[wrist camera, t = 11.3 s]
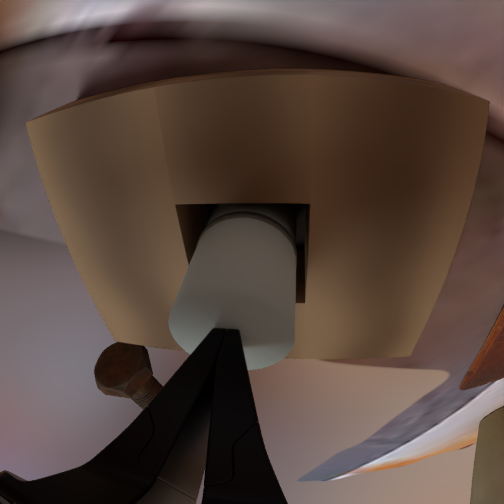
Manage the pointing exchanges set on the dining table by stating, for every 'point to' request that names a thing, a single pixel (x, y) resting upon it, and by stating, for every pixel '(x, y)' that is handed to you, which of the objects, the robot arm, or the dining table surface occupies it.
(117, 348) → the bolt
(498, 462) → the plant pot
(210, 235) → the peg
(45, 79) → the dining table surface
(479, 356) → the wooden tablet
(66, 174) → the board
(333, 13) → the dining table surface
